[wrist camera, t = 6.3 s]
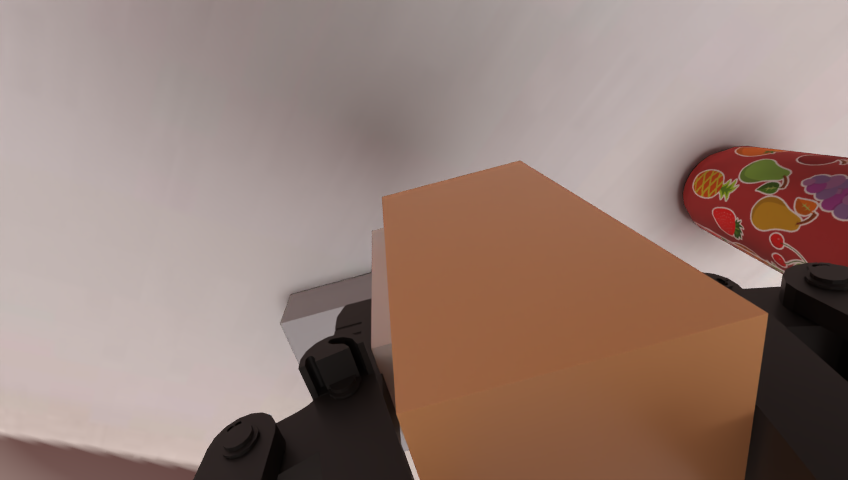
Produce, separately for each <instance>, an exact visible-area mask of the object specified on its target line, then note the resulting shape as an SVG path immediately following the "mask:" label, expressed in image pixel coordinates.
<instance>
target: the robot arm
mask: <svg viewBox="0 0 848 480" xmlns="http://www.w3.org/2000/svg"><path fill="white" fill-rule="evenodd" d="M702 273H703V272H702ZM704 274H705V275H707V276H709V277H710V278H712V279H713V280H715V281H717V282H718V283H720V284H722V285H723V286H725V287H726V288H728V289H730V290H731V291H733V292H735V293H736V294H738V295H739V296H741V297H743V298H744V299H746V300H748V301H749V302H751V303H752V304H754V305H756V306H757V307H759V308H761V309H762V310H764V311H765V312H767V313H768V320H767V327H766V334H765V341H764V348H763V355H762V362H761V369H760V376H759V382H758V389H757V396H756V403H755V410H754V417H753V424H752V431H751V438H750V445H749V452H748V459H747V466H746V473H745V480H848V267H846V266H842V265H836V264H831V263H824V262H820V263H818V262H813V263H804V264H798V265H794V266H792V267H789V268H787V269H786V270H785V272H784V274H783V276H782V282H781V287H767V288H751V289H742V288H741V287H740V286H739V285H738V284H736V283H735V282H733V281H731V280H730V279H728V278H725V277H722V276H719V275H716V274H711V273H704ZM298 369H299V371H300V373H301V375H302V377H303V379H304V381H305V383H306V386H307V388H308V390H309V392H310V394H311V396H312V398H313V402H311V403H310V404H309V405H308V406H306V407H305V408H303V409H302V410H300V411H298V412H297V413H295V414H293V415H291V416H289V417H287V418H285V419H283V420H282V421H280V422H278V423H275V421H274V419H273V418H272V416H271V415H268V414H265V413H253V414H249V415H247V416H244V417H242V418H239V419H237V420H236V421H234V422H233V423H231V424H230V425H228V426H227V427H225V428H224V429H223V430H222V431H221V432H220V433H219V434H218V435H217V436H216V437H215V438H214V440H213V441H212V443H211V444H210V446H209V448H208V449H207V451H206V453H205V455H204V458H203V460H202V462H201V464H200V466H199V468H198V471H197V473H196V475H195V477H194V479H193V480H414V478H413V475H412V472H411V469H410V467H409V464H408V461H407V458H406V456H405V453H404V450H403V447H402V445H401V434H400V429H401V426H400V423H399V420H398V418H397V415H396V403H395V388H394V373H393V358H392V342H391V327H390V312H389V297H388V282H387V266H386V251H385V236H384V228H381V229H377V230H373V231H372V298H371V299H367V300H363V301H359V302H356V303H352V304H348V305H345V306H344V308H343V309H342V311H341V312H340V313H339V315H338V316H337V319H336V326H335V333H334V335H333V336H329V337H327V338H325V339H323V340H321V341H319V342H317V343H316V344H314V345H313V346H312V347H311V348H309V349H308V350H307V351H306V352H305V354H304V355H303V357H302V358H301V359H300V364H299V368H298ZM401 432H402V435H403V437H404V434H403V431H402V429H401ZM404 440H405V437H404ZM405 441H406V440H405Z"/></svg>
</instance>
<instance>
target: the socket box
mask: <svg viewBox="0 0 848 480" xmlns="http://www.w3.org/2000/svg"><path fill="white" fill-rule="evenodd" d="M371 298H372V273H369V274H365V275H362V276H358V277H354V278H350V279H347V280H343V281H339V282H336V283H332V284H328V285H324V286H321V287H317V288H313V289H310V290H306V291H302V292H298V293H295V294H291V295H290V298H289V301H288V303H287V306H286V309H285V312H284V314H283V317H282V320H281V322H280V325H281V327H282V329H283V331H284V333H285V335H286V338H287V340H288V342H289V344H290V346H291V348H292V351H293V353H294V355H295V357H296V359H297V361H298V364H300V359H301V358H302V357H303V355H304V354H305V352H306V351H307V350H308V349H309V348H311V347H312V346H313V345H314V344H316V343H317V342H319V341H321V340H323V339H325V338H327V337H329V336H333V335H334V333H335V326H336V319H337V316H338V315H339V313H340V312H341V311H342V309H343V308H344V306H345V305H348V304H352V303H356V302H359V301H363V300H367V299H371ZM400 434H401V445H402V447H403V450H404V451H408V450H409V448H408V445H407V443H406V441H405V440H404V437H403V435H402V432H401V429H400Z"/></svg>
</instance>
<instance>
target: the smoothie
mask: <svg viewBox="0 0 848 480" xmlns="http://www.w3.org/2000/svg"><path fill="white" fill-rule="evenodd" d="M683 200H684V205H685V207H686V209H687V211H688V213H689V214H690V216H691V218H692V220H693V222H694V223H695V224H697V225H698V226H699V227H700V228H702V229H704V230H705V231H707V232H709V233H711V234H712V235H714V236H716V237H718V238H719V239H721V240H723V241H725V242H727V243H728V244H730V245H732V246H734V247H735V248H737V249H739V250H741V251H743V252H744V253H746V254H748V255H750V256H751V257H753V258H755V259H757V260H759V261H760V262H762V263H764V264H766V265H767V266H769V267H771V268H773V269H775V270H776V271H778V272H780V273H782V274H784V272H785V270H786V269H787V268H789V267H792V266H794V265H798V264H804V263H813V262H818V263H820V262H824V263H831V264H836V265H842V266H846V267H848V158H846V157H837V156H829V155H820V154H811V153H803V152H794V151H785V150H777V149H768V148H759V147H751V146H740V147H733V148H730V149H728V150H725V151H720V152H718V153H715V154H712V155H710V156H708V157H707V158H705V159H704V160H703V161H701V162H700V163H699V164H698V165H697V166H696V167H695V168H694V170H693V171H692V172H691V173H690V175H689V177H688V179H687V181H686V183H685V187H684V192H683Z"/></svg>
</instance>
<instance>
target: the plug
mask: <svg viewBox="0 0 848 480" xmlns="http://www.w3.org/2000/svg"><path fill="white" fill-rule="evenodd" d="M382 206H383V221H384V236H385V251H386V266H387V282H388V297H389V312H390V327H391V342H392V358H393V373H394V388H395V403H396V415H397V418H398V420H399V423H400V426H401V429H402V431H403V434H404V437H405V440H406V443H407V445H408V448H409V451H410V454H411V456H412V459H413V462H414V465H415V467H416V470H417V473H418V476H419V478H420V480H745V473H746V466H747V459H748V452H749V445H750V438H751V431H752V424H753V417H754V410H755V403H756V396H757V389H758V382H759V376H760V369H761V362H762V355H763V348H764V341H765V334H766V327H767V320H768V313H767V312H765V311H764V310H762V309H761V308H759V307H757V306H756V305H754V304H752V303H751V302H749V301H748V300H746V299H744V298H743V297H741V296H739V295H738V294H736V293H735V292H733V291H731V290H730V289H728V288H726V287H725V286H723V285H722V284H720V283H718V282H717V281H715V280H713V279H712V278H710V277H709V276H707V275H705V274H704V273H702V272H700V271H699V270H697V269H696V268H694V267H692V266H691V265H689V264H687V263H686V262H684V261H683V260H681V259H679V258H678V257H676V256H674V255H673V254H671V253H670V252H668V251H666V250H665V249H663V248H661V247H660V246H658V245H657V244H655V243H653V242H652V241H650V240H648V239H647V238H645V237H644V236H642V235H640V234H639V233H637V232H635V231H634V230H632V229H631V228H629V227H627V226H626V225H624V224H622V223H621V222H619V221H618V220H616V219H614V218H613V217H611V216H609V215H608V214H606V213H605V212H603V211H601V210H600V209H598V208H596V207H595V206H593V205H592V204H590V203H588V202H587V201H585V200H583V199H582V198H580V197H579V196H577V195H575V194H574V193H572V192H570V191H569V190H567V189H566V188H564V187H562V186H561V185H559V184H557V183H556V182H554V181H553V180H551V179H549V178H548V177H546V176H544V175H543V174H541V173H540V172H538V171H536V170H535V169H533V168H531V167H530V166H528V165H527V164H525V163H523V162H522V161H516V162H513V163H509V164H505V165H501V166H497V167H494V168H490V169H486V170H482V171H478V172H475V173H471V174H467V175H463V176H459V177H456V178H452V179H448V180H444V181H440V182H437V183H433V184H429V185H425V186H421V187H418V188H414V189H410V190H406V191H403V192H399V193H395V194H391V195H387V196H384V197H382Z"/></svg>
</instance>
